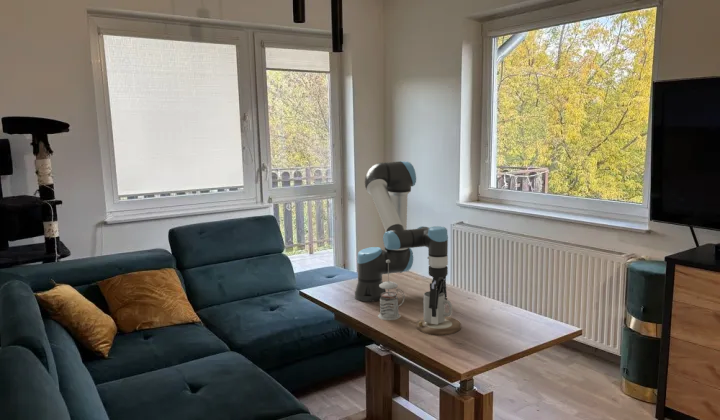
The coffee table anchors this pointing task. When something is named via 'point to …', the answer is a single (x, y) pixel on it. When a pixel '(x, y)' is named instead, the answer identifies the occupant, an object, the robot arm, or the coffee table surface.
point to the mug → (441, 307)
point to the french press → (390, 312)
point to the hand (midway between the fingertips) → (438, 319)
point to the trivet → (439, 326)
